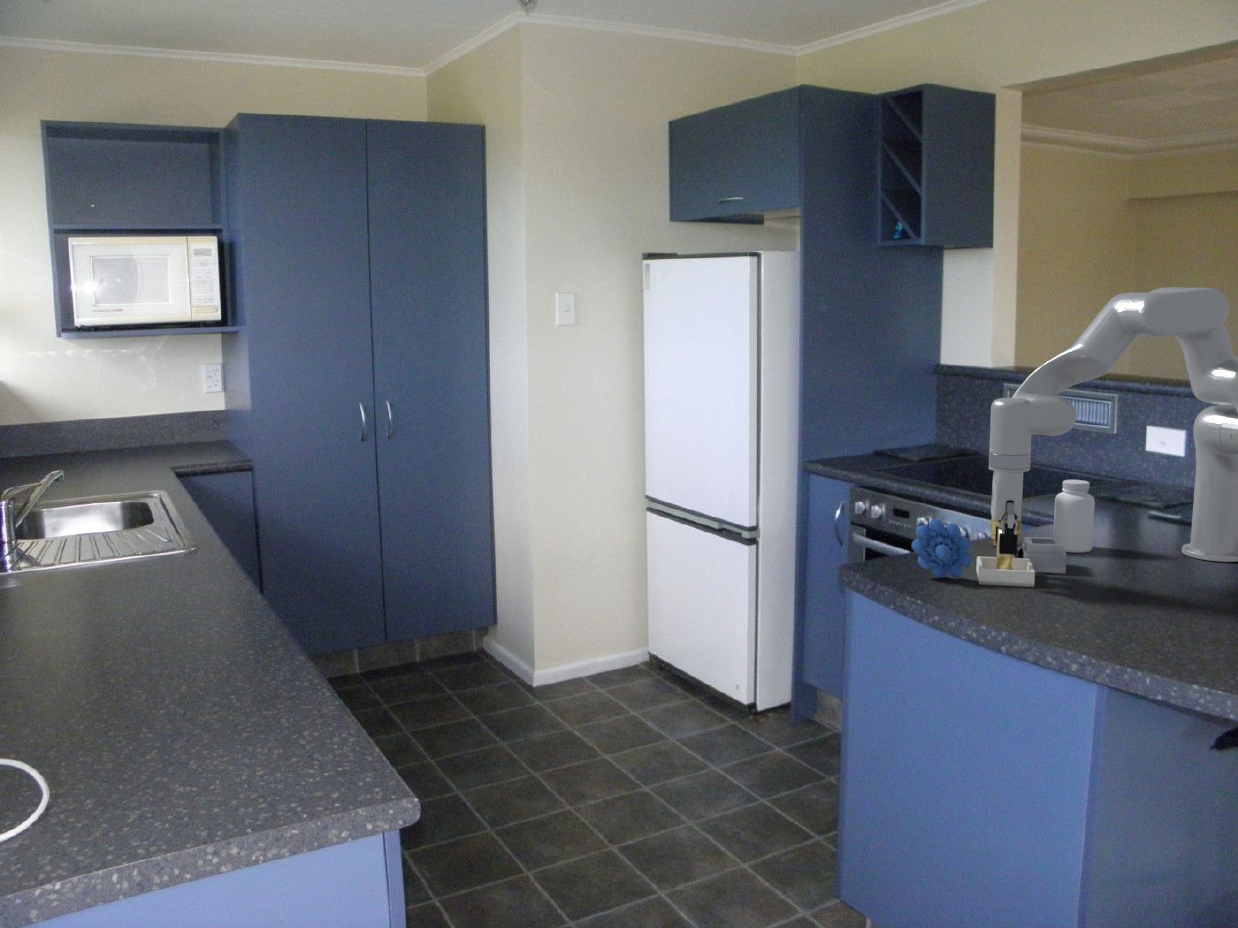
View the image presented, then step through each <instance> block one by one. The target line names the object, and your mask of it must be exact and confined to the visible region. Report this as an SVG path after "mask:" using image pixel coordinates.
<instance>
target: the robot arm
mask: <svg viewBox="0 0 1238 928" xmlns="http://www.w3.org/2000/svg"><path fill="white" fill-rule="evenodd" d="M1229 312H1230V305H1229V300H1228V299H1227V297H1226V295H1225V294H1224V293H1223V292H1222V291H1220V290H1218V289H1216V288H1212V287H1183V286H1182V287H1181V286H1178V287H1177V286H1176V287H1173V286H1172V287H1160V288H1154V289H1153V290H1150V291H1148V292H1123V293H1120V294H1117V295H1115V296H1113V297H1112V298H1111V299H1109V301H1108V302H1107V303H1106V304H1105V306H1104V307H1103V308H1102V309H1101V310H1100V311H1099V312H1098V314H1097V315H1096V316H1095V317H1094V319H1093V320H1092V321H1091V322H1090V324H1088V326H1087V327H1086V328H1085V330H1084V331H1083V332H1082V333H1081V335H1080V336H1079V337H1078V339H1076V341H1075V342H1074V343H1073V344H1072V345H1071V346H1070V347H1068V348H1067V349H1066V350H1064V351H1062V352H1060V353H1059V354H1057V355H1056V356H1054V357H1052V358H1051V359H1050V360H1048V361H1047V362H1045V363H1044V364H1042V365H1041V366H1039V367H1037V368H1036V369H1035V370H1034V371H1033V372H1031V373H1030V374H1029V375H1028V376H1027V377H1026V378H1025V380H1024V381H1023V382H1022V383H1021V385H1020V386H1019V387H1018V388H1017V389H1016V390H1015V392H1014V393H1013V395H1012V396H1011V397H1001V398H999V397H998V398H996V399H994V400H993V402H992V403H991V407H990V424H989V425H990V427H989V428H990V429H989V451H988V470H990V471H993V475H992V486H991V487H992V488H991V502H990V503H991V505H990V506H991V507H990V515H991V516H992V518H993V520H994V521H995V522H997V520H1001V533H1000V539H999V553H1000V554H1013V555H1015V554H1017V538H1018V534H1017V522H1019V521H1020V516H1021V506H1022V507H1023V487H1024V473H1026V472H1029V471H1030V470H1031V453H1032V452H1031V449H1032V448H1031V447H1032V436H1033V435H1038V436H1039V435H1041V436H1042V435H1043V436H1050V437H1051V436H1052V437H1055V436H1061V435H1064V434H1066V433H1068V432H1069V431H1070V430H1071V429H1072V428H1073V427H1074V426H1075V425H1076V422H1077V411H1076V408H1075V406H1074V405H1073V404H1072V403H1071V402H1070V401H1068V400H1067V399H1065V398H1062V397H1058V395H1060V393H1062V392H1063V391H1065V390H1066V389H1068V388H1071V387H1073V386H1076V385H1079V384H1082V383H1085V382H1088V381H1091V380H1094V379H1095V380H1096V379H1097V378H1100V377H1102V376H1105V375H1107V374H1109V372H1110V371H1112V369H1113V368H1114V366H1115V365H1116V364H1117V363H1118V361H1119V360H1120V359H1121V357H1123V355H1124V354H1125V353H1126V352H1127V351H1128V349H1129V348H1130V347H1131V346H1132V345H1133V343H1134V342H1135V341H1136V339H1138V338H1142V337H1146V338H1171V337H1172V338H1173V337H1175V338H1176V340H1177V341H1178V342H1179V345H1180V347H1181V349H1182V353H1183V356H1184V361H1185V365H1186V369H1187V374H1188V379H1189V382H1190V387H1191V391H1192V393H1193V394H1194V397H1196V399H1197V400H1199V401H1201V402H1204V403H1208V404H1215V405H1211V406H1208V407H1207V408H1204V409H1203V410H1202V411H1200V412H1199V413H1198V414H1197V416H1196V417H1195V420H1194V422H1193V428H1192V430H1193V432H1192V433H1193V434H1192V435H1193V441H1194V448H1195V479H1194V491H1193V492H1194V493H1193V507H1192V515H1191V516H1192V519H1191V531H1190V532H1191V533H1190V543H1185V544H1183V545H1182V547H1181V553H1182V554H1184V555H1186V556H1188V557H1190V558H1194V559H1199V560H1205V561H1211V562H1220V563H1221V562H1222V563H1238V357H1237V356H1236V355H1235V353H1234V351H1233V347H1232V344H1231V341H1230V338H1229V333H1228V331H1227V329H1226V327H1225V325H1224V323H1225V322H1226V320H1227V319H1228V316H1229ZM995 540H996V542H997V541H998V527H997V526H996V535H995Z"/></svg>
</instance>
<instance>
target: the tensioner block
mask: <svg viewBox="0 0 1238 928" xmlns="http://www.w3.org/2000/svg"><path fill="white" fill-rule="evenodd" d="M995 557H997V542H996V547H995ZM1014 558H1024V559H1030V561H1031V564H1032V566H1033V569H1034V571H1035V573H1044V574H1045V573H1046V574H1060V575H1062V574H1064V575H1065V574H1067V573H1066V571H1067V552H1065V550H1064V549H1063V545H1062V543H1061V541H1060V539H1059V538H1053V537H1042V536H1041V537H1040V536H1039V537H1037V536H1023V542H1022V541H1021V540H1020V541H1017V554H1015V555H1014Z"/></svg>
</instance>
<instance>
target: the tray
mask: <svg viewBox="0 0 1238 928" xmlns="http://www.w3.org/2000/svg"><path fill="white" fill-rule="evenodd" d="M996 567H997V557H996V556H980V555H979V556H976V568H975V571H976V574H977V581H978V584H979V585H985V586H987V585H989V586H1007V587H1008V586H1009V587H1024V588H1025V587H1027V588H1030V587H1031V588H1034V587H1035V579H1036V578H1035V577H1036V572H1035V571H1034V569H1033V566H1032V564H1031V561H1030V559H1024V558H1014V570H1001V569H996Z"/></svg>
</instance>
